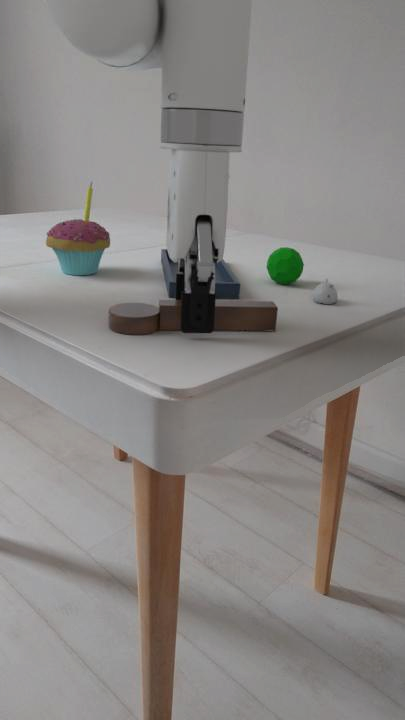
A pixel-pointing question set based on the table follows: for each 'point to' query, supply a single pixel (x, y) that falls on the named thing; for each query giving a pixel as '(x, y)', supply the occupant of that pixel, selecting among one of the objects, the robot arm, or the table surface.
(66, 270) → the cupcake
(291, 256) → the polyhedron
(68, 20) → the robot arm
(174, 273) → the tray
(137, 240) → the table surface
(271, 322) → the disc-ended wooden bar
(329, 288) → the white bumpy lump
